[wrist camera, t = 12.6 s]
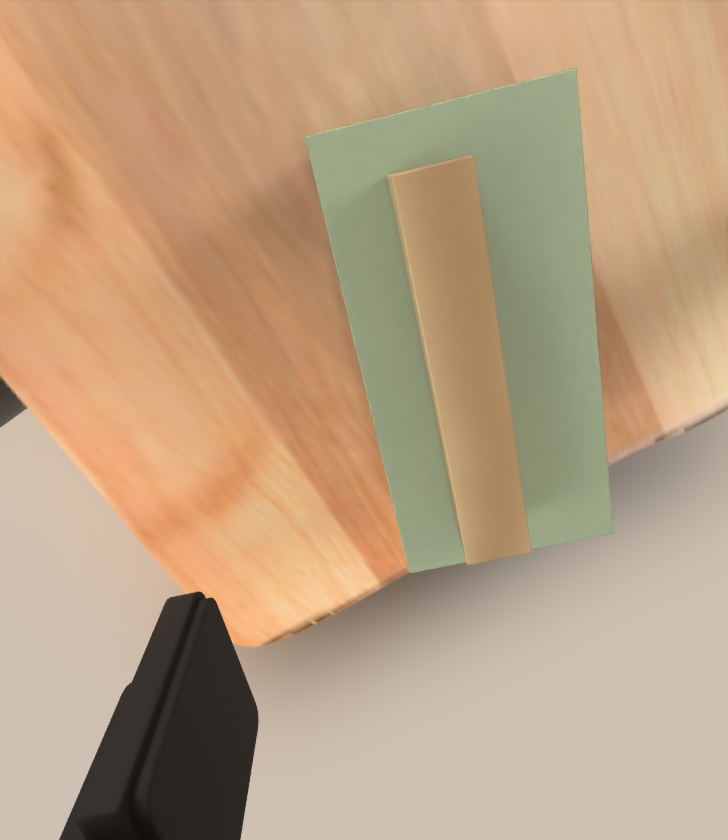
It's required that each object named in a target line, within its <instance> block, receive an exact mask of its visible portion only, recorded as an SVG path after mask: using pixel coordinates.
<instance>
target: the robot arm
mask: <svg viewBox="0 0 728 840" xmlns="http://www.w3.org/2000/svg"><path fill="white" fill-rule="evenodd" d="M257 730H258V711H257V706H256V703H255V700H254V698H253V695H252V692H251V690H250V687H249V685H248V682H247V680H246V677H245V675H244V672H243V669H242V667H241V664H240V662H239V659H238V656H237V654H236V651H235V649H234V646H233V644H232V641H231V639H230V636H229V633H228V631H227V628H226V626H225V623H224V621H223V618H222V615H221V613H220V610H219V608H218V605H217V603H216V601H215V600H214V598H207V599H206V597H205V596H204V594H203V593H202V592H195V593H190V594H185V595H180V596H175V597H170V598H169V599H167V601H166V603H165V605H164V607H163V610H162V612H161V614H160V617H159V619H158V622H157V624H156V626H155V629H154V631H153V633H152V636H151V638H150V640H149V643H148V645H147V648H146V650H145V653H144V655H143V657H142V659H141V662H140V664H139V667H138V669H137V671H136V674H135V676H134V679H133V681H132V683H130V684H129V685H128V686H127V687H126V688H125V690H124V691H123V693H122V695H121V697H120V700H119V702H118V704H117V707H116V709H115V711H114V714H113V716H112V718H111V721H110V723H109V725H108V728H107V730H106V732H105V735H104V737H103V739H102V741H101V744H100V746H99V748H98V751H97V753H96V755H95V758H94V760H93V762H92V765H91V767H90V769H89V772H88V774H87V776H86V779H85V781H84V783H83V786H82V788H81V790H80V793H79V795H78V797H77V800H76V802H75V804H74V807H73V809H72V811H71V814H70V816H69V818H68V821H67V823H66V825H65V828H64V830H63V832H62V835H61V837H60V839H59V840H240V838H241V832H242V826H243V819H244V813H245V807H246V801H247V794H248V788H249V782H250V775H251V769H252V762H253V756H254V749H255V744H256V737H257Z"/></svg>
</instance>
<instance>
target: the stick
mask: <svg viewBox="0 0 728 840" xmlns="http://www.w3.org/2000/svg"><path fill="white" fill-rule="evenodd" d="M387 179H388V184H389V189H390V194H391V199H392V204H393V209H394V214H395V219H396V225H397V230H398V235H399V240H400V245H401V250H402V255H403V260H404V265H405V270H406V275H407V280H408V285H409V290H410V295H411V300H412V305H413V310H414V315H415V320H416V325H417V330H418V335H419V340H420V345H421V350H422V355H423V360H424V365H425V370H426V375H427V380H428V385H429V390H430V395H431V401H432V406H433V411H434V416H435V421H436V426H437V431H438V436H439V441H440V446H441V451H442V456H443V461H444V466H445V471H446V476H447V481H448V486H449V491H450V496H451V501H452V506H453V511H454V516H455V521H456V526H457V530H458V534H459V537H460V541H461V544H462V548H463V551H464V555H465V558H466V562H467V564H468V565H472V564H477V563H482V562H487V561H492V560H498V559H503V558H508V557H513V556H518V555H523V554H528V553H531V543H530V536H529V530H528V523H527V516H526V509H525V502H524V495H523V488H522V481H521V474H520V468H519V461H518V454H517V447H516V440H515V433H514V426H513V419H512V412H511V405H510V399H509V392H508V385H507V378H506V371H505V364H504V357H503V350H502V343H501V337H500V330H499V323H498V316H497V309H496V302H495V295H494V288H493V281H492V274H491V268H490V261H489V254H488V247H487V240H486V233H485V226H484V219H483V212H482V206H481V199H480V192H479V185H478V178H477V171H476V164H475V157H474V156H473V155H468V156H461V157H456V158H452V159H448V160H444V161H440V162H436V163H432V164H428V165H424V166H419V167H415V168H411V169H407V170H403V171H399V172H395V173H391V174H388V175H387Z"/></svg>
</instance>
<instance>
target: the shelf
mask: <svg viewBox="0 0 728 840" xmlns="http://www.w3.org/2000/svg"><path fill="white" fill-rule="evenodd" d="M305 140H306V144H307V149H308V153H309V157H310V161H311V165H312V169H313V173H314V178H315V182H316V186H317V190H318V194H319V198H320V203H321V207H322V211H323V215H324V219H325V223H326V227H327V232H328V236H329V240H330V244H331V248H332V252H333V257H334V261H335V265H336V269H337V273H338V277H339V282H340V286H341V290H342V294H343V298H344V302H345V306H346V311H347V315H348V319H349V323H350V327H351V331H352V336H353V340H354V344H355V348H356V352H357V356H358V360H359V365H360V369H361V373H362V377H363V381H364V385H365V390H366V394H367V398H368V402H369V406H370V410H371V414H372V419H373V423H374V427H375V431H376V435H377V439H378V444H379V448H380V452H381V456H382V460H383V464H384V469H385V473H386V477H387V481H388V485H389V489H390V493H391V498H392V502H393V506H394V510H395V514H396V518H397V523H398V527H399V531H400V535H401V539H402V543H403V547H404V552H405V556H406V560H407V564H408V568H409V572H410V573H413V572H418V571H424V570H429V569H434V568H439V567H444V566H449V565H454V564H459V563H465V562H466V558H465V555H464V551H463V548H462V544H461V541H460V537H459V534H458V530H457V526H456V521H455V516H454V511H453V506H452V501H451V496H450V491H449V486H448V481H447V476H446V471H445V466H444V461H443V456H442V451H441V446H440V441H439V436H438V431H437V426H436V421H435V416H434V411H433V406H432V401H431V395H430V390H429V385H428V380H427V375H426V370H425V365H424V360H423V355H422V350H421V345H420V340H419V335H418V330H417V325H416V320H415V315H414V310H413V305H412V300H411V295H410V290H409V285H408V280H407V275H406V270H405V265H404V260H403V255H402V250H401V245H400V240H399V235H398V230H397V225H396V219H395V214H394V209H393V204H392V199H391V194H390V189H389V184H388V179H387V175H388V174H391V173H395V172H399V171H403V170H407V169H411V168H415V167H419V166H424V165H428V164H432V163H436V162H440V161H444V160H448V159H452V158H456V157H461V156H468V155H473V156H474V157H475V164H476V171H477V178H478V185H479V192H480V199H481V206H482V212H483V219H484V226H485V233H486V240H487V247H488V254H489V261H490V268H491V274H492V281H493V288H494V295H495V302H496V309H497V316H498V323H499V330H500V337H501V343H502V350H503V357H504V364H505V371H506V378H507V385H508V392H509V399H510V405H511V412H512V419H513V426H514V433H515V440H516V447H517V454H518V461H519V468H520V474H521V481H522V488H523V495H524V502H525V509H526V516H527V523H528V530H529V536H530V543H531V549H536V548H541V547H546V546H552V545H557V544H562V543H567V542H572V541H577V540H582V539H587V538H592V537H598V536H603V535H608V534H613V525H612V512H611V500H610V487H609V474H608V462H607V449H606V436H605V424H604V411H603V399H602V386H601V373H600V361H599V348H598V336H597V323H596V311H595V298H594V285H593V273H592V260H591V248H590V235H589V222H588V210H587V197H586V185H585V172H584V159H583V147H582V134H581V122H580V109H579V97H578V84H577V71H576V69H575V68H574V69H570V70H566V71H562V72H558V73H554V74H550V75H547V76H543V77H539V78H535V79H531V80H527V81H523V82H519V83H515V84H511V85H507V86H503V87H499V88H495V89H491V90H487V91H483V92H479V93H475V94H471V95H467V96H463V97H460V98H456V99H452V100H448V101H444V102H440V103H436V104H432V105H428V106H424V107H420V108H416V109H412V110H408V111H404V112H400V113H396V114H392V115H388V116H384V117H380V118H376V119H373V120H369V121H365V122H361V123H357V124H353V125H349V126H345V127H341V128H337V129H333V130H329V131H325V132H321V133H317V134H313V135H309V136H306V137H305Z"/></svg>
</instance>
